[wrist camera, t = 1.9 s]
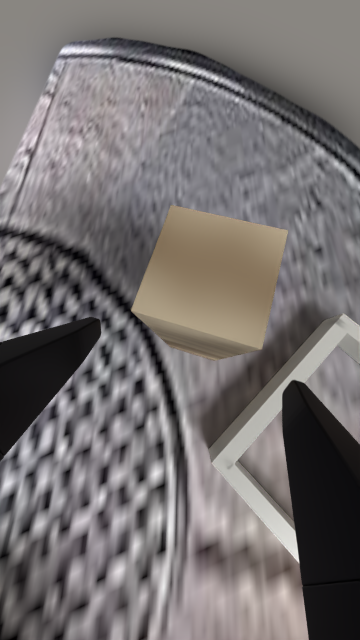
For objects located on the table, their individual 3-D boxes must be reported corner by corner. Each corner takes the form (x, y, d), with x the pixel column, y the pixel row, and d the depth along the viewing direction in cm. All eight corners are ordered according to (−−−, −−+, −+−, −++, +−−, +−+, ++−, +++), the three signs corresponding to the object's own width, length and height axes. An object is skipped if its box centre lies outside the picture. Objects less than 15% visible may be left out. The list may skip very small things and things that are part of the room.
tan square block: (214, 360, 19) (261, 349, 6) (170, 346, 19) (130, 310, 7) (225, 317, 20) (288, 230, 7) (183, 305, 20) (171, 205, 8)
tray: (378, 640, 14) (418, 699, 11) (208, 449, 17) (211, 463, 15) (496, 458, 16) (552, 475, 13) (324, 320, 19) (343, 313, 17)
